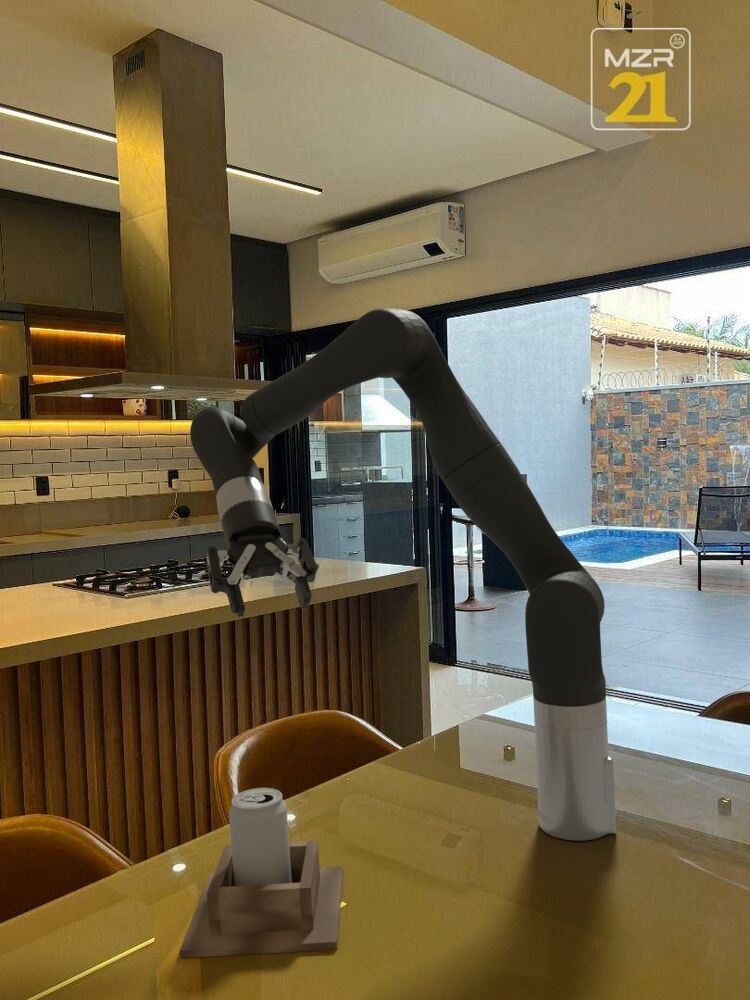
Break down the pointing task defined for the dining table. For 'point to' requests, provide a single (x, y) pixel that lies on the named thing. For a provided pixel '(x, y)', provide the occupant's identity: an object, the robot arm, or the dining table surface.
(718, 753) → the dining table surface
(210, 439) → the robot arm
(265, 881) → the beverage can
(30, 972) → the dining table surface
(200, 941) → the well
